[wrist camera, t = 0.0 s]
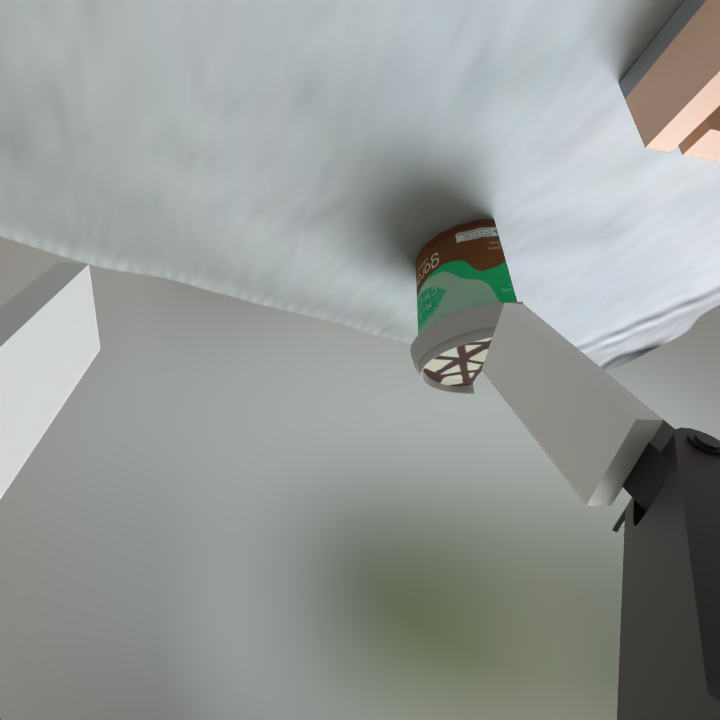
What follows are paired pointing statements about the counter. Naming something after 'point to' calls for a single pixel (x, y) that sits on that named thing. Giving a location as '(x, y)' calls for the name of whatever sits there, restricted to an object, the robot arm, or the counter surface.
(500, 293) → the food container
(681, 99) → the socket board
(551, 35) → the counter surface
